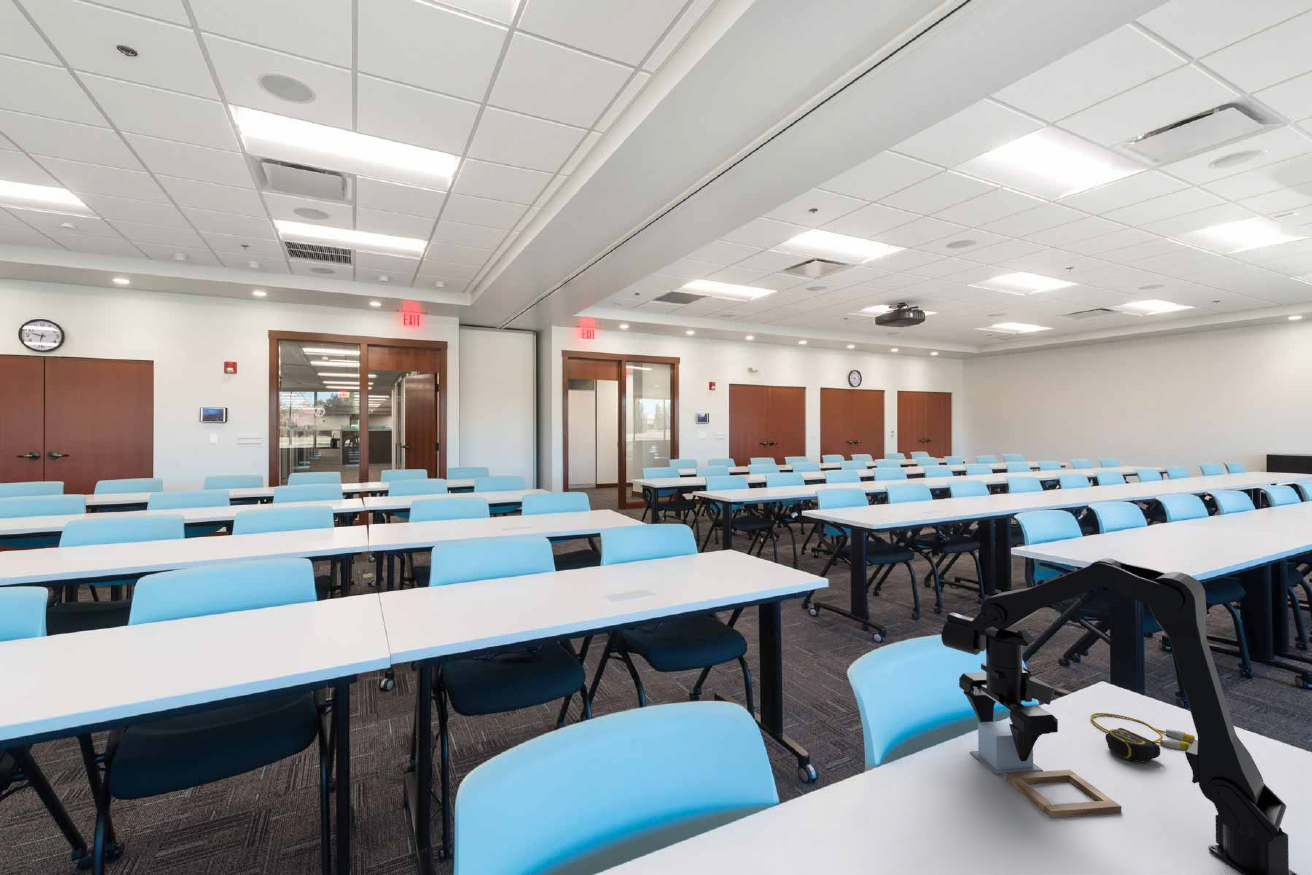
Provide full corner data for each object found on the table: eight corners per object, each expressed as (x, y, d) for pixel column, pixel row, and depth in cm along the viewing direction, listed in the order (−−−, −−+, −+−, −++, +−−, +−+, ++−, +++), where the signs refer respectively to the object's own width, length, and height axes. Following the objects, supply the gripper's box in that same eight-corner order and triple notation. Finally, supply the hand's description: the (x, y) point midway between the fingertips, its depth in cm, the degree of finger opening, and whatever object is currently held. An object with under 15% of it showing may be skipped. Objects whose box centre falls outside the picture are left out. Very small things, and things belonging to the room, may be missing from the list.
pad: (1042, 771, 101) (1042, 769, 101) (995, 774, 100) (995, 772, 100) (1014, 750, 108) (1014, 748, 108) (970, 752, 107) (970, 751, 107)
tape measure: (1163, 762, 104) (1162, 742, 104) (1137, 769, 102) (1137, 748, 102) (1122, 743, 110) (1122, 724, 110) (1097, 749, 108) (1097, 730, 108)
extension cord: (1170, 763, 104) (1170, 752, 104) (1078, 723, 119) (1078, 714, 119) (1204, 748, 109) (1204, 737, 109) (1112, 712, 124) (1112, 703, 124)
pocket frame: (1121, 812, 90) (1121, 805, 90) (1051, 817, 89) (1051, 811, 89) (1070, 775, 100) (1070, 769, 100) (1006, 779, 99) (1006, 773, 99)
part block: (1033, 767, 102) (1032, 734, 102) (996, 769, 101) (996, 736, 101) (1013, 751, 107) (1013, 720, 107) (978, 753, 106) (978, 722, 106)
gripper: (1087, 681, 96) (1088, 773, 95) (1009, 642, 114) (1010, 719, 114) (1025, 685, 95) (1026, 777, 95) (957, 644, 113) (958, 722, 113)
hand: (1005, 746), depth 104 cm, fingers open, 9 cm apart
